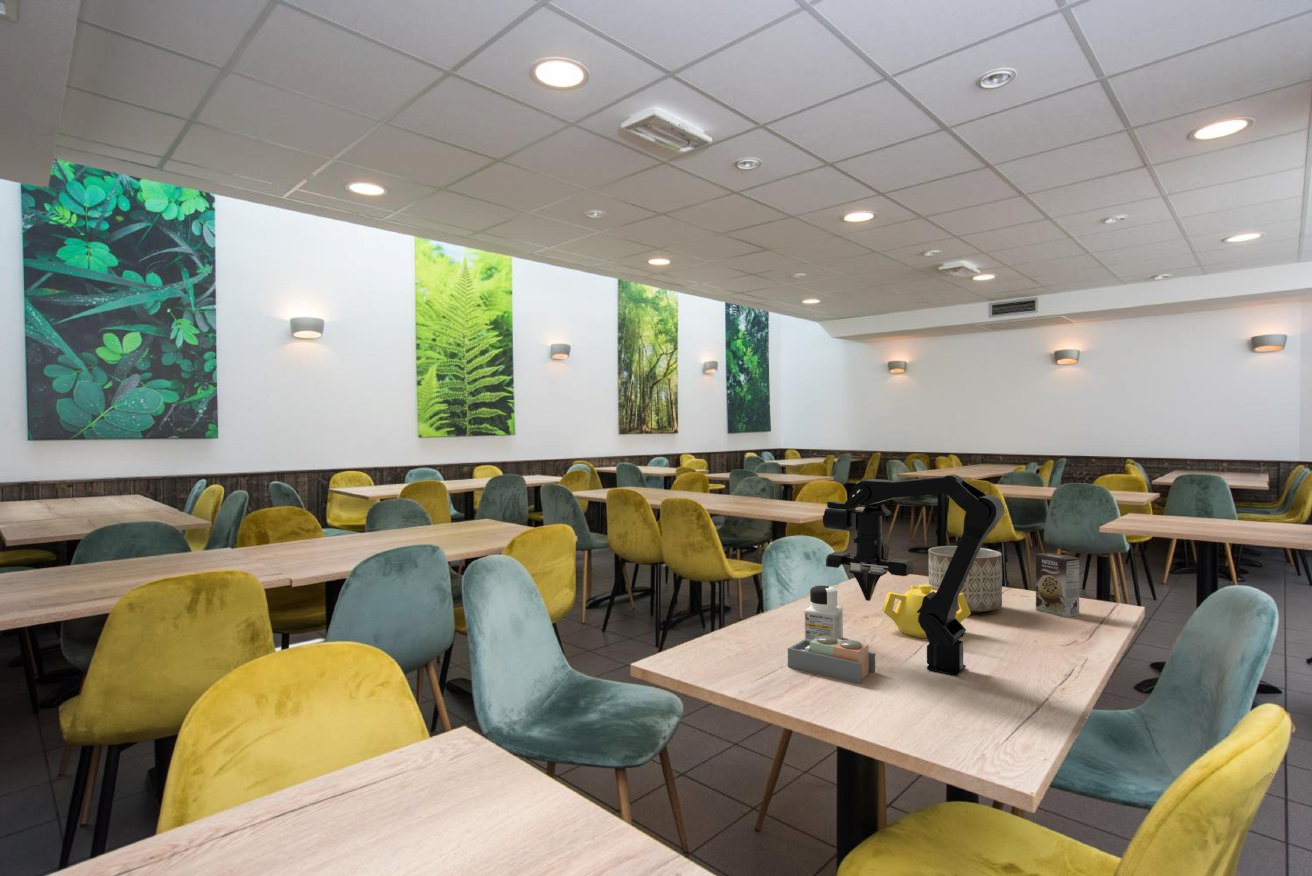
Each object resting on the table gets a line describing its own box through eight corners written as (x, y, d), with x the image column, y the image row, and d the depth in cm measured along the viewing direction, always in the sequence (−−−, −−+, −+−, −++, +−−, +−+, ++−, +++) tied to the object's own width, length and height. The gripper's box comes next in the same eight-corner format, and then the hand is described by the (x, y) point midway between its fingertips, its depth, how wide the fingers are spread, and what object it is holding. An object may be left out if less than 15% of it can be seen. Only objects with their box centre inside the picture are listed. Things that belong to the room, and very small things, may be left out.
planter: (1005, 604, 199) (1004, 549, 199) (998, 620, 182) (998, 559, 182) (935, 597, 209) (934, 544, 209) (923, 611, 193) (922, 553, 192)
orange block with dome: (844, 667, 147) (843, 637, 147) (868, 673, 144) (868, 642, 144) (833, 675, 143) (833, 644, 143) (858, 680, 139) (858, 649, 139)
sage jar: (844, 667, 147) (843, 637, 147) (833, 674, 143) (833, 643, 143) (820, 662, 151) (820, 633, 151) (809, 669, 146) (809, 639, 146)
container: (804, 641, 166) (804, 588, 166) (812, 633, 173) (812, 582, 172) (836, 645, 162) (835, 592, 162) (843, 637, 169) (842, 585, 169)
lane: (875, 672, 144) (875, 653, 144) (860, 683, 138) (860, 663, 138) (804, 656, 154) (804, 639, 154) (787, 666, 148) (787, 648, 148)
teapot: (973, 632, 172) (973, 585, 172) (941, 646, 161) (941, 596, 161) (912, 619, 185) (912, 575, 185) (879, 630, 174) (878, 584, 174)
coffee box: (1034, 610, 193) (1034, 553, 192) (1049, 607, 195) (1049, 551, 195) (1065, 617, 184) (1065, 559, 184) (1080, 615, 187) (1080, 557, 187)
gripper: (919, 532, 157) (919, 599, 158) (842, 526, 168) (842, 588, 169) (905, 539, 148) (905, 609, 149) (825, 531, 159) (824, 597, 160)
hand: (868, 600), depth 157 cm, fingers closed
